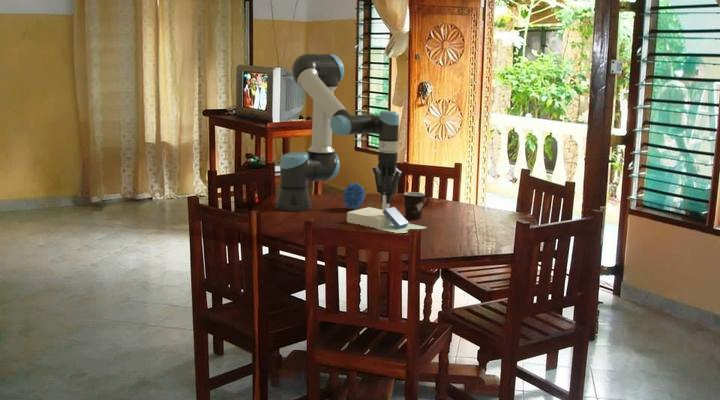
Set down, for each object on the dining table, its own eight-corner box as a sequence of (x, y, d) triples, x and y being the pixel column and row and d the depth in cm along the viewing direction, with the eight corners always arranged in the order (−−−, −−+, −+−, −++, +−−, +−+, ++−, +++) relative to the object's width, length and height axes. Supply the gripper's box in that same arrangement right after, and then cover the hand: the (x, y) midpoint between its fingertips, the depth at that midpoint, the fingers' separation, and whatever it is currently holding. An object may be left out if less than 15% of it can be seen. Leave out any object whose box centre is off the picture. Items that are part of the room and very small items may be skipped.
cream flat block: (346, 221, 306) (347, 212, 305) (368, 216, 317) (369, 207, 316) (378, 228, 296) (379, 218, 295) (400, 223, 307) (400, 213, 306)
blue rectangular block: (382, 212, 299) (385, 209, 298) (391, 210, 304) (394, 206, 303) (397, 228, 296) (400, 225, 295) (406, 226, 300) (409, 222, 299)
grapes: (370, 210, 329) (371, 182, 327) (361, 212, 324) (362, 184, 321) (349, 206, 336) (349, 179, 334) (339, 208, 331) (340, 180, 328)
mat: (377, 229, 295) (377, 228, 295) (401, 222, 308) (401, 222, 308) (402, 234, 288) (402, 234, 288) (426, 227, 300) (426, 227, 300)
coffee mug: (405, 220, 312) (406, 196, 310) (400, 215, 320) (401, 192, 318) (433, 220, 314) (434, 195, 312) (427, 215, 323) (428, 191, 321)
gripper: (368, 150, 298) (366, 210, 303) (395, 154, 290) (393, 215, 295) (380, 148, 304) (378, 207, 309) (407, 152, 296) (404, 212, 301)
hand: (385, 211), depth 302 cm, fingers closed
